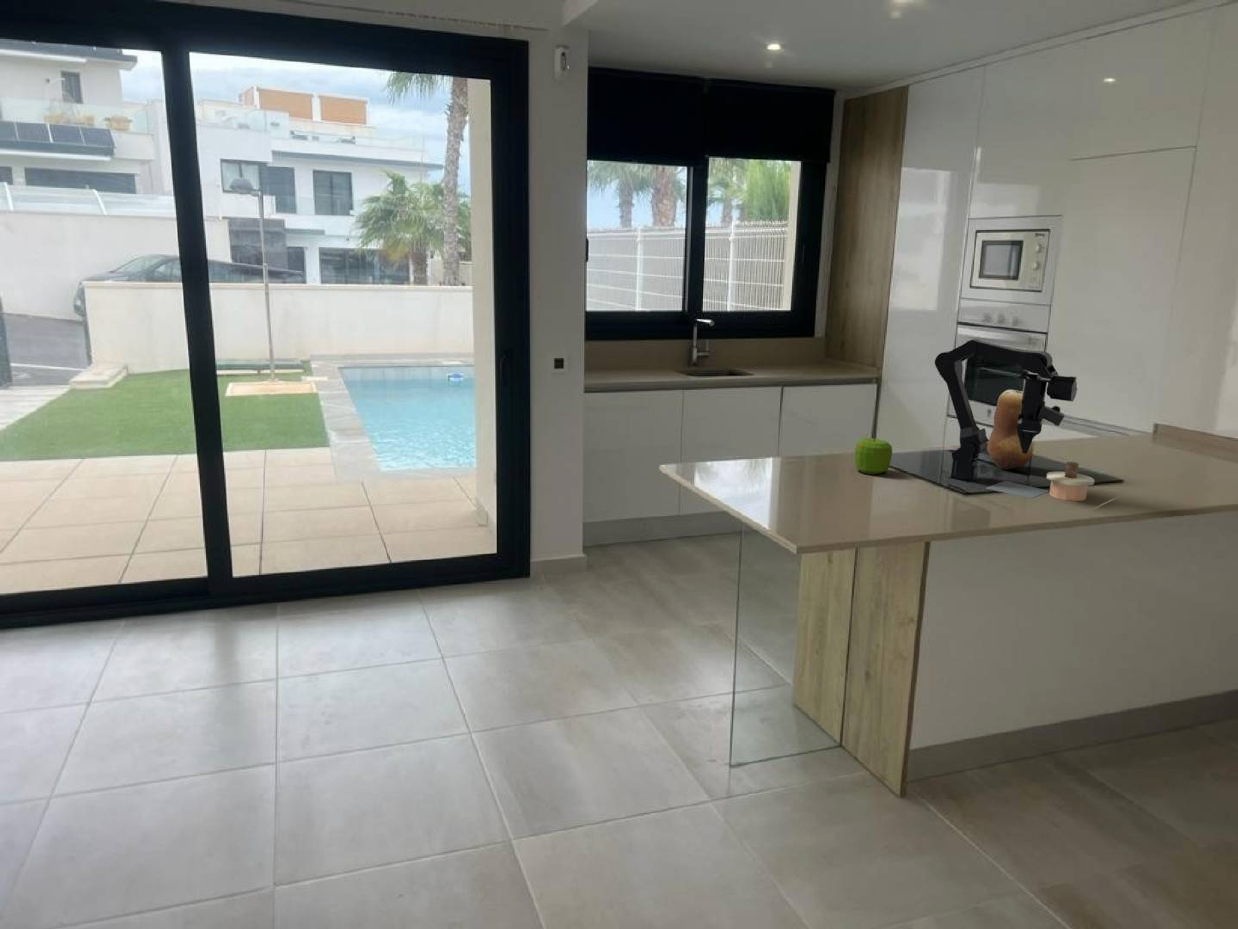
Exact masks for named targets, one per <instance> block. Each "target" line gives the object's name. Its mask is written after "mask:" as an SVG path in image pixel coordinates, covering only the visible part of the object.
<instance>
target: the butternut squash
mask: <svg viewBox="0 0 1238 929" xmlns="http://www.w3.org/2000/svg"><path fill="white" fill-rule="evenodd" d="M1022 396H1023V390H1021V391H1020V390H1017V389H1016V390H1015V389H1006V390H1005V391H1003V392H1002V393H1001V394H1000V395H999V397H998V399H997V404H996V407H995V410H994V412H993V413H994V415H993V428H992V431H991V433H990V436H989V438H988V440H989V441H988V442H987V444H988V446H987V449H986V450H987V453H988V455H989V456H990V458H991V460H992V461H993V463H994V464H995V465H996V467H997V468H998V469H1000V470H1005V471H1009V470H1015V469H1017V468H1020V467H1022V466H1025V465H1026V464H1028V463H1029V462H1030V460H1031V459H1032V457H1033V452H1034V451H1033V450H1034V446H1033V441H1032V442H1031V444H1030V447H1029V450H1028V452H1027V454H1024V453H1023V452H1022V449H1021V445H1020V441H1019V437H1018V433H1017V423H1018V416H1019V412H1020V409H1021V403H1022Z"/></svg>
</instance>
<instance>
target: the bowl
mask: <svg viewBox="0 0 1238 929" xmlns="http://www.w3.org/2000/svg"><path fill="white" fill-rule="evenodd" d="M1088 488H1089V486H1073V485H1065V484H1060V483H1056V482H1053V481H1050V486H1049V492H1048V493H1049V495H1050V496H1051V497H1053V498H1056V499H1060V500H1064V501H1073V502H1081V501H1082V502H1083V501H1086V500H1087V494H1088Z"/></svg>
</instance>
